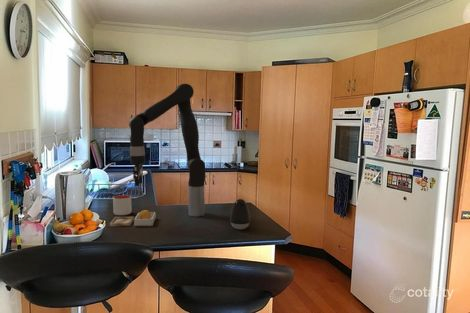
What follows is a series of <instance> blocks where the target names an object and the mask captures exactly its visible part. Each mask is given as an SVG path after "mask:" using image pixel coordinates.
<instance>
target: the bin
mask: <svg viewBox="0 0 470 313" xmlns="http://www.w3.org/2000/svg"><path fill="white" fill-rule="evenodd" d="M141 212H142V211H140V212H138V213H137V214H136V216H134V220H133V226H134V227H152V226H153V225H154V223H155V220H156V211H149V212H150V213H151V218H150V219H140V217H139V215H140V213H141ZM153 227H154V226H153Z"/></svg>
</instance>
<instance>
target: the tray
mask: <svg viewBox="0 0 470 313" xmlns="http://www.w3.org/2000/svg"><path fill="white" fill-rule="evenodd" d="M134 219H135V216H115V217H114V218H112V220H111V221H110V222H109V227H130V226H131V224H132V223H133V222H134Z"/></svg>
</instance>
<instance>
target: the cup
mask: <svg viewBox="0 0 470 313" xmlns="http://www.w3.org/2000/svg"><path fill="white" fill-rule="evenodd" d="M112 202H113V203H112V205H113V207H112V208H113V210H112V211H113V215H115V216H118V217H123V216H128V215H130V214H131V213H132V211H133V210H132V195H127V194H123V195H122V194H120V195H115V196H113V198H112Z"/></svg>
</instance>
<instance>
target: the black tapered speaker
mask: <svg viewBox="0 0 470 313" xmlns="http://www.w3.org/2000/svg"><path fill="white" fill-rule="evenodd" d="M229 222H230V225H231V226H232V228H234V229H236V230H239V231H240V230H241V231H242V230H245V229H247V228H248V227H249V225H250V223H251V216H250V211H249V207H248V204H247V202H246V201H245V200H244V199H243V198H238V199H236V200H235V202H234V203H233V206H232V207H231V212H230V218H229Z"/></svg>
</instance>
